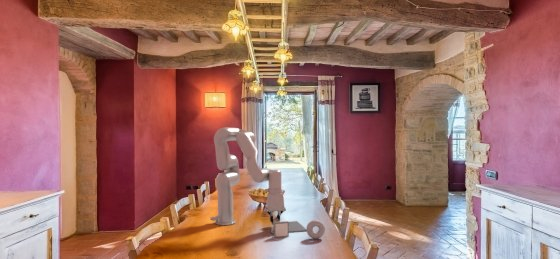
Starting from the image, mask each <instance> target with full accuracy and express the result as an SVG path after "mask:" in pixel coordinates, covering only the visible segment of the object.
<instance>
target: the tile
mask: <svg viewBox="0 0 560 259" xmlns="http://www.w3.org/2000/svg"><path fill="white" fill-rule="evenodd" d="M289 222H290V221H289V220H286V221H285V220H284V221H280V222H274V233H273V238H285V237H286V238H288V237H290V234H289Z"/></svg>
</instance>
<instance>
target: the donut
mask: <svg viewBox="0 0 560 259" xmlns="http://www.w3.org/2000/svg"><path fill="white" fill-rule="evenodd" d="M315 227H317V228H318V231H314V228H315ZM305 229H306V230H307V231H306V233H307V235H308V237H309V238H311V239H315V240H317V239H320V238H322V237H323V236H324V234H325V233H326V228H325V224H324V223H323V222H322V221H321V220H319V219H313V220H311V221H309V222H308V223H307V225H306V228H305Z"/></svg>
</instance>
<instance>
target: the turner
mask: <svg viewBox="0 0 560 259" xmlns="http://www.w3.org/2000/svg"><path fill="white" fill-rule="evenodd" d="M274 222H281V220H280V221H279V220H278V218H277V214H276V211H273V223H271V230H270V231H271V234H274Z"/></svg>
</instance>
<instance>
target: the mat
mask: <svg viewBox="0 0 560 259" xmlns="http://www.w3.org/2000/svg"><path fill="white" fill-rule="evenodd" d="M288 222H289V233H301V232H307V230H306V229H307V228H306V227H305V226H303V224H301V223H300V222H299V221H297V220H293V221H288Z"/></svg>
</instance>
